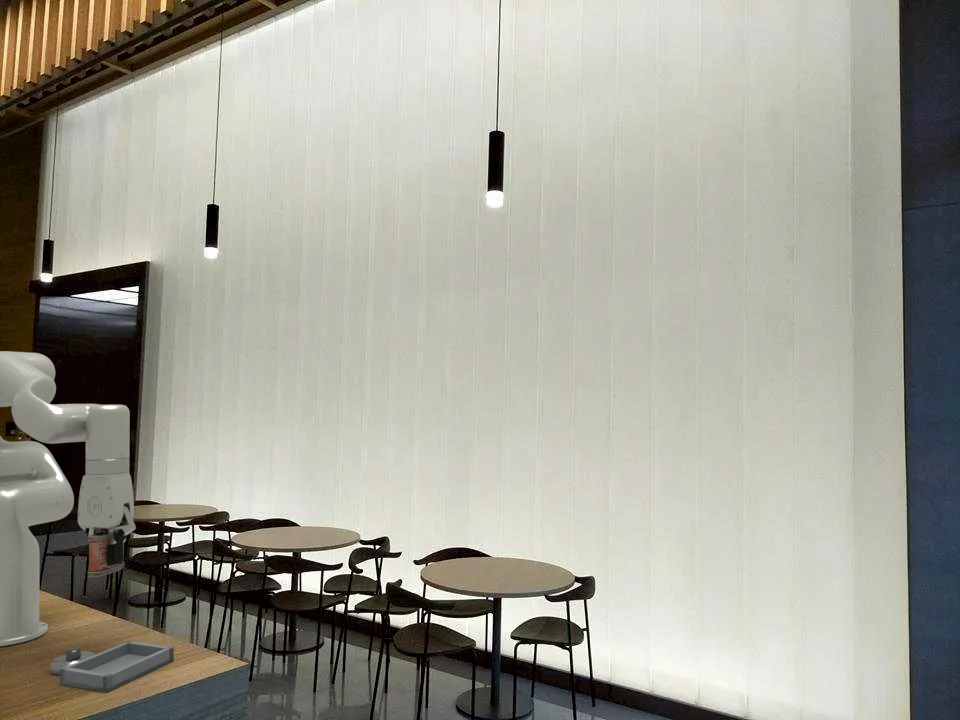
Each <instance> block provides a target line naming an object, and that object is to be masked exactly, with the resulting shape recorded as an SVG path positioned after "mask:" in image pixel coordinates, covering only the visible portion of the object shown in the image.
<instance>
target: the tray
mask: <svg viewBox="0 0 960 720" xmlns="http://www.w3.org/2000/svg"><path fill="white" fill-rule="evenodd" d="M174 653H175V649H174V646H168V645H162V644H161V645H160V644H155V643H154V644H153V643H147V642H139V641H133V640H129V641H126V642H123V643H120V644H118V645H115V646H114V647H110V648H108V649H106V650H104V651H101V652H98V653H95V655H93V656H91V657H88V658H86V659H83V660H81V661H79V662H76V663H74V664H71V665H69V666H66V667H64V668H61V669H60V676H59V685H63V686H67V687H68V686H69V687H75V688H80V689H85V690H90V691H91V690H92V691H97V692H102V693H109V692H111V691H113V690H116V689H118V688H120V687H122V686H124V685H126V684H129V683H130V682H133V681H135V680H137V679H139V678H141V677H143V676H145V675H147V674H149V673H151V672H153V671H156V670H157V669H160V668H162V667H164V666H165V665H166V666H167V665H169V664H171V663H173V662H174V660H175V659H174V658H175V657H174ZM172 661H173V662H172Z"/></svg>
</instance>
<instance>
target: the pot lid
mask: <svg viewBox="0 0 960 720" xmlns="http://www.w3.org/2000/svg"><path fill="white" fill-rule="evenodd" d="M93 655H96V652H93V651H88V650H87V651H86V650H85V651H83V650H82V647H80V646H75V647H70V648H68V649H66V650H65V654H63V655H60V656H58V657H55V658H53V659H52V660H51V661H50V669H49V670H50V674H51V675H53V676H59V677H60V669H61V668H64V667H66V666H69V665H71V664H74V663H76V662H79V661H81V660H83V659H86V658H88V657H91V656H93Z"/></svg>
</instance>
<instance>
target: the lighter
mask: <svg viewBox="0 0 960 720" xmlns="http://www.w3.org/2000/svg"><path fill="white" fill-rule="evenodd" d="M94 529H95V532H96V534H93V535H90V536H87V538H88V539H87V542H88V563H89V565H88V571H87V577H88V578H97V577H102V576H105V575H109V574H112V573H115V572H118V571H120V570H123V569H124V568H125V564H126V563H125V562H124V560H125V559H124V554H125V552H124V551H125V550H124V548H125V547H124V546H125V544H124V543H125V542H123V562H122V563H119V564H115V565H111V566H108V565H107V545H108V544H110V542H109V532H108V529H99V528H97V527H94ZM117 532H118V530H115V533H116V534H117Z"/></svg>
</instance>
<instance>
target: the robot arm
mask: <svg viewBox="0 0 960 720" xmlns="http://www.w3.org/2000/svg"><path fill="white" fill-rule="evenodd" d="M55 377H56V368H55V365H54V363H53V362H52V360H51V359H50V358H49V357H48V356H46V355H44V354H41V353H39V352H28V351H27V352H25V351H11V350H9V351H7V350H6V351H4V350H3V351H0V408H6V407H11V414H12V418H13V422H14V423H15V426H16V427H17V428H18V429H19V430H21V431H22V432H23V433H25V434H26V435H28V436H29V437H31V438H33V439H34V440H36V441H33V440H22V441H21V440H20V441H8V440H5V439H3V437H2V436H1V435H0V647H5V646H11V645H17V644H21V643H25V642H29V641H31V640H34V639H36V638H39V637H41V636H43V635H45V634H46V633H47V632H48V629H49V626H48V625H49V624H48V623H47V622H43V621H40V545H39V542H38V540H37V538H36V537H35V536H34V535H33V533H32V532H31V530H30V527H31V526H36V525H41V524H46V523H50V522H55V521H59V520H61V519H64V518H65V517H67V516H68V515H69V514H70V513H71V511H73V508H74V506H75V505H74V504H75V496H74V492H73V489H72V486H71V484H70V483H69V481H68V479H67V478H66V477H67V476H65V474H64V473H63V471H62V469H61V467H60V466H59V464H58V463H57V461H56V459H55V457H54V455H53V454H52V453H51V451H50V450H49V449H48V448H47V447H46V446H45V445H44V443H45V444H51V445H52V444H54V445H55V444H65V443H80V442H81V443H82V442H85V475H83V476H82V480H81V484H80V487H79V488H80V489H79V496H78V509H77V523H78V524H77V525H79V527H80V528H81V529H82V530H83V531H84V532H85V534H86V535H87V537H88V536H90V535H93V534H96V532H95V529H94V527H97V528H99V529H108V532H109V542H110V544H108V545H107V565H108V566H111V565H115V564H119V563H122V562H123V542H124V543H125V542H126V540H127V537H128V536H129V535H130V534H131V533H132V532H134V531H135V530H136V528H137V527H136V524H135V522H134V521H135V520H134V514H135V506H134V505H135V501H134V500H135V499H134V489H133V483H132V482H133V481H132V476H131V474H130V442H131V441H130V433H131V432H130V423H131V422H130V421H131V420H130V418H131V417H130V416H131V415H130V413H131V412H130V409H129V408H128V406H127V405H124V404H100V403H99V404H98V403H65V404H64V403H60V404H52V403H51V402H52V401H53V399H54V398H55V395H56V394H57V393H56V391H57V385H56V382H55ZM37 441H38V442H37ZM40 442H41V443H40ZM42 443H43V444H42ZM115 530H118V532H117V534H116V533H115Z"/></svg>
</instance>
